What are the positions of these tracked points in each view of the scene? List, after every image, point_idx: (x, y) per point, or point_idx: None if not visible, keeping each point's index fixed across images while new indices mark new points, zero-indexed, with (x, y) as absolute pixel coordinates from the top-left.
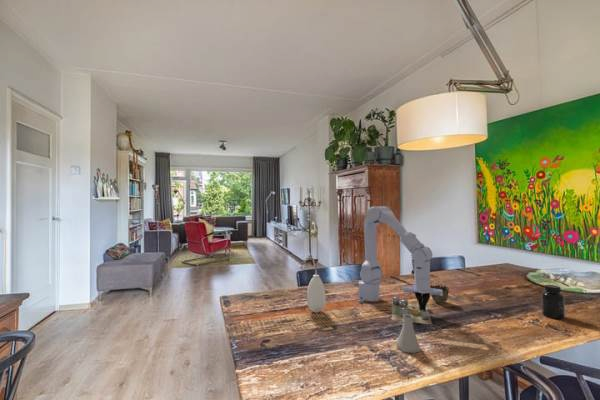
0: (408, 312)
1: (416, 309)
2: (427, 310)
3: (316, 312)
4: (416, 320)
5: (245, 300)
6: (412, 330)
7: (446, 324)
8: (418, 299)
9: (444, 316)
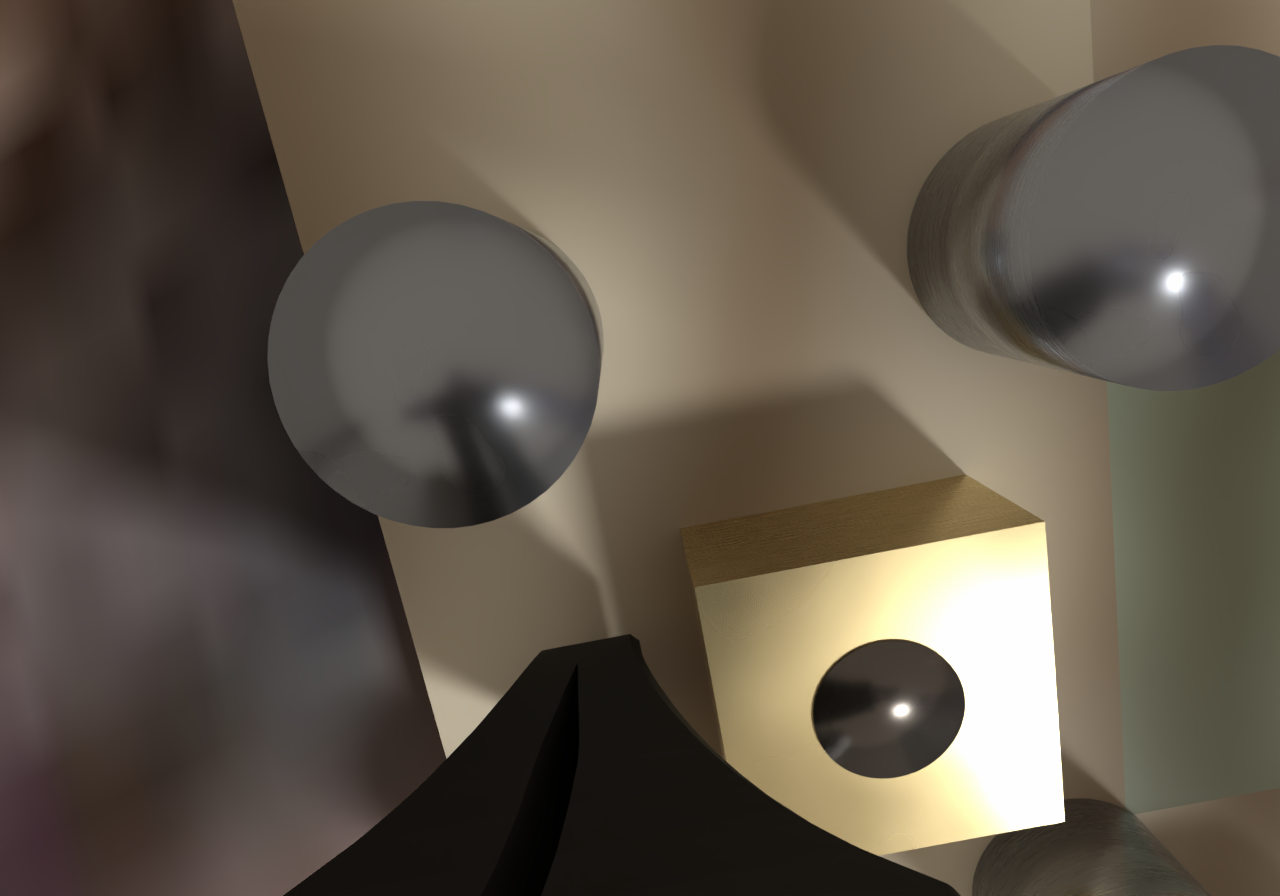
0: (1016, 142)
1: (763, 603)
2: (351, 472)
3: None
4: (695, 81)
5: None
6: None
7: (8, 437)
8: (765, 852)
9: (150, 885)
